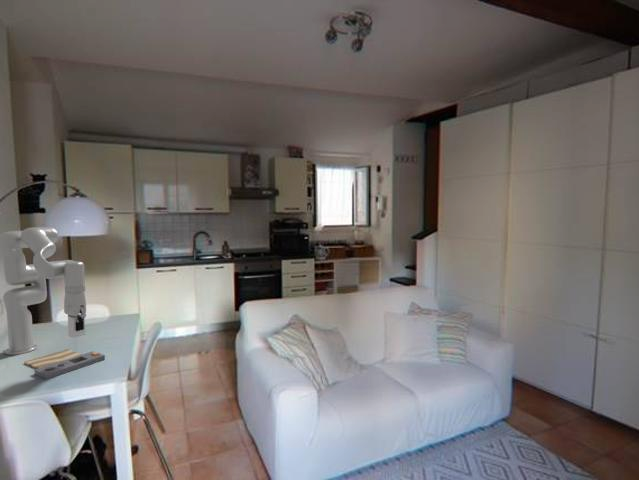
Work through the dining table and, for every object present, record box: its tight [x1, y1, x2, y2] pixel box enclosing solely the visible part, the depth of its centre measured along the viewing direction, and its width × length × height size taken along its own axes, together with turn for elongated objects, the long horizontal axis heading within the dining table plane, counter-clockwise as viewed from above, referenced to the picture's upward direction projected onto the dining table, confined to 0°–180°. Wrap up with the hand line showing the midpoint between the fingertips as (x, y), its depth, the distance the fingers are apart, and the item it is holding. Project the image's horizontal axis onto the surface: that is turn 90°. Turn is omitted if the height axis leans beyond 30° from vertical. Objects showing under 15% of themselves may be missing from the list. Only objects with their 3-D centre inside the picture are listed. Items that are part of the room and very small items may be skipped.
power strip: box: [33, 351, 106, 380], centre depth 164 cm, size 10×24×3 cm, turn 150°
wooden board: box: [24, 348, 83, 369], centre depth 171 cm, size 14×18×1 cm
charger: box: [67, 313, 86, 339], centre depth 165 cm, size 5×5×10 cm
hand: (76, 328), depth 165 cm, fingers closed on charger, 4 cm apart
